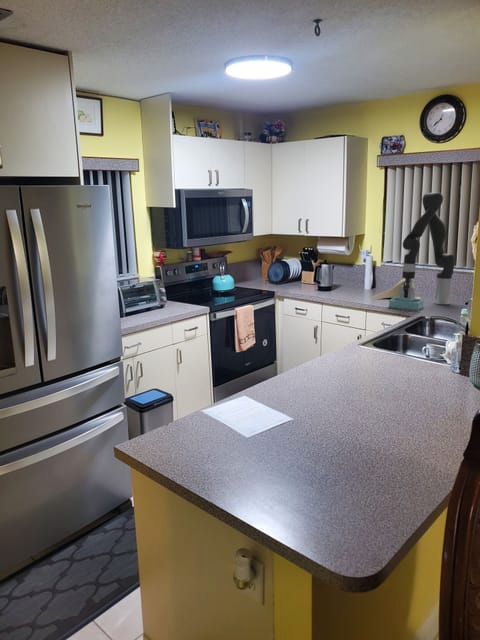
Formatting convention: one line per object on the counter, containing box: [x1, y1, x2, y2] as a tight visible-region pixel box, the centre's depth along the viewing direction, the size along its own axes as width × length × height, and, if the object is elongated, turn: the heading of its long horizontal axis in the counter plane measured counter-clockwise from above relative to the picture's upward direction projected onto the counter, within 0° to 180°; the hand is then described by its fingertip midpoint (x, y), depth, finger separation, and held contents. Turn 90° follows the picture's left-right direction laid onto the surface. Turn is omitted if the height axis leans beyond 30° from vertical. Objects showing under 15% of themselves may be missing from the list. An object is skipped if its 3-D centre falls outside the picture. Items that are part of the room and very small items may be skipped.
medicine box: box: [399, 286, 416, 301], centre depth 313 cm, size 8×4×9 cm, turn 48°
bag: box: [369, 278, 422, 300], centre depth 347 cm, size 19×17×35 cm
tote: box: [388, 297, 424, 312], centre depth 314 cm, size 15×18×5 cm
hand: (406, 296), depth 313 cm, fingers closed on medicine box, 5 cm apart
